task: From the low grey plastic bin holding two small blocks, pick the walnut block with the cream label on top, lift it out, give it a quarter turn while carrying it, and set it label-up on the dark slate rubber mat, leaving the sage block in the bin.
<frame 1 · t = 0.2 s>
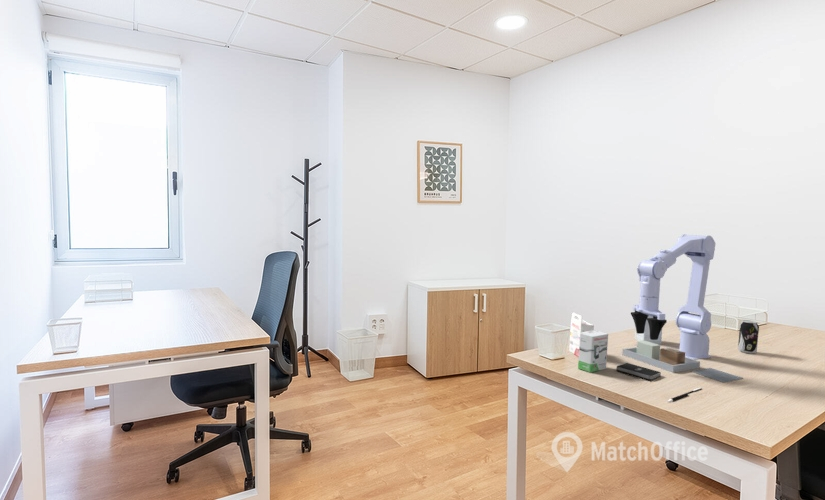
hand: (646, 336, 148), 10 cm above the table, tool pointing down, fingers open, 7 cm apart
ink box: (591, 369, 143), on the table
ink cartridge box: (580, 355, 158), on the table
external hard drive: (637, 376, 139), on the table
slate mat: (716, 376, 139), on the table
labelled block: (671, 365, 148), resting in grey bin
supplement box: (647, 342, 178), on the table
beverage can: (747, 352, 168), on the table
pen: (685, 397, 123), on the table
grey bin: (659, 362, 152), on the table
sage block: (647, 357, 156), resting in grey bin
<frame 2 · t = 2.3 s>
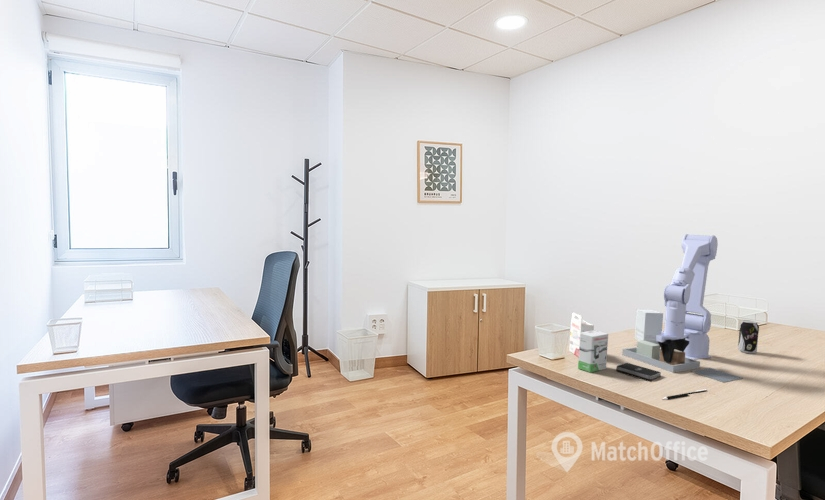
hand: (672, 361, 148), 2 cm above the table, tool pointing down, fingers closed on labelled block, 4 cm apart
labelled block: (671, 365, 148), resting in grey bin, touching gripper
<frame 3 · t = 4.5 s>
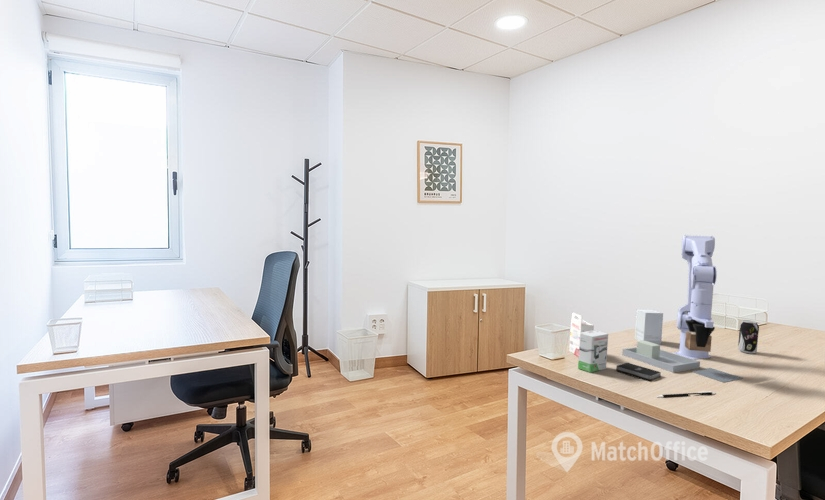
hand: (698, 344, 142), 9 cm above the table, tool pointing down, fingers closed on labelled block, 4 cm apart
labelled block: (697, 349, 143), point 7 cm above the table, touching gripper
when the fingers open (3 cm above the table, at t = 6.8 s): labelled block drops 1 cm, resting on slate mat.
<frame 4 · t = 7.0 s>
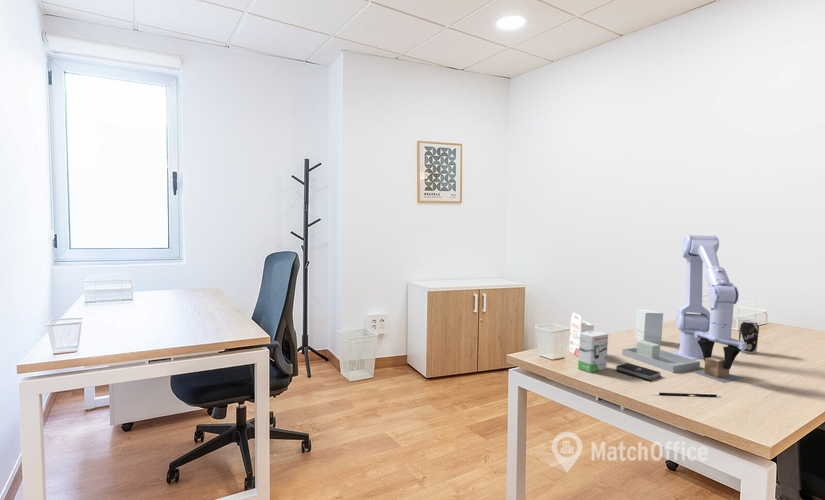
hand: (717, 365, 139), 3 cm above the table, tool pointing down, fingers open, 5 cm apart
labelled block: (716, 374, 139), resting on slate mat
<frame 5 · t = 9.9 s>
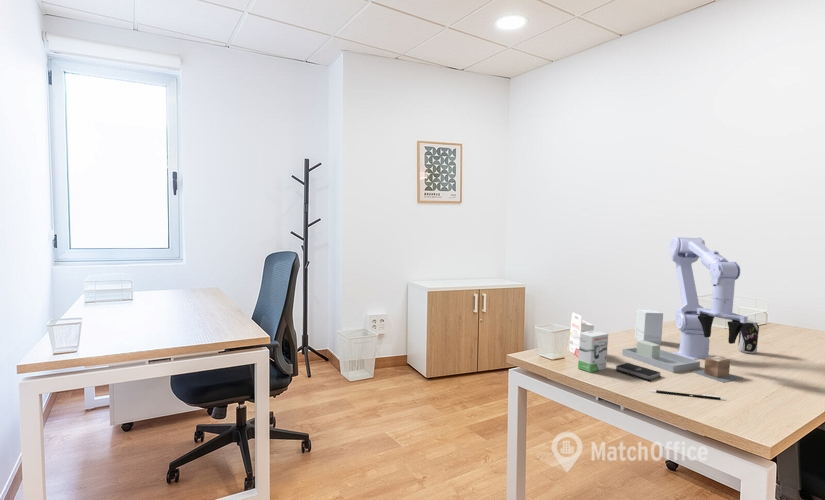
hand: (719, 340, 143), 10 cm above the table, tool pointing down, fingers open, 7 cm apart
at the end: labelled block inside the target area on the slate mat (0.1 cm from its centre), point 0.5 cm above the slate mat's base; labelled block tilted 0°; sage block moved 0.1 cm from its start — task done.
